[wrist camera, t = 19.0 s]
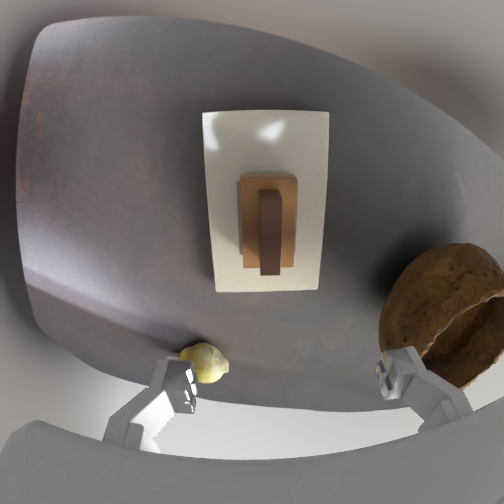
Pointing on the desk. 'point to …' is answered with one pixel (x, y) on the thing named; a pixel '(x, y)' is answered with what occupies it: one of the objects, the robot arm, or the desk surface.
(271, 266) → the brush
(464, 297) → the bowl
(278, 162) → the tile
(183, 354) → the fruit
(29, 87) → the desk surface
